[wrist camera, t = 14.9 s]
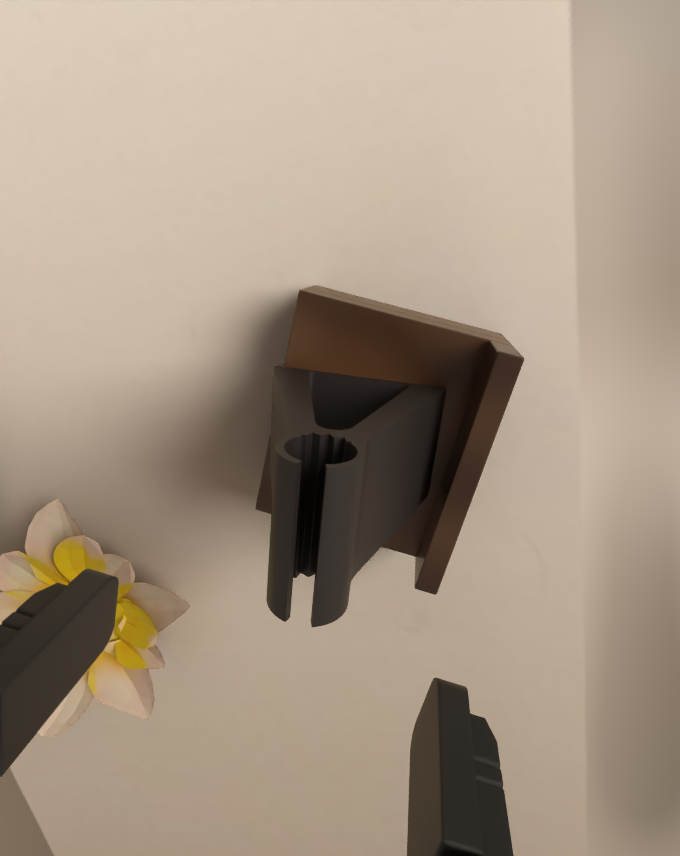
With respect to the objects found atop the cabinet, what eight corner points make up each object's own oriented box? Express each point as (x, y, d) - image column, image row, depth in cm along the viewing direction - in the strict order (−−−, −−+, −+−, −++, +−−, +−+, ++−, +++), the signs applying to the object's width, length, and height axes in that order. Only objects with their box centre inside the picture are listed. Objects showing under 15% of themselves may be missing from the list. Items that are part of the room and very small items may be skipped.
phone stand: (446, 388, 26) (463, 488, 15) (428, 492, 28) (430, 651, 17) (276, 364, 27) (171, 442, 16) (270, 467, 29) (173, 600, 18)
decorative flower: (241, 617, 36) (144, 753, 27) (175, 670, 42) (81, 794, 34) (81, 471, 35) (-67, 565, 27) (39, 547, 42) (-92, 642, 33)
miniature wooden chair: (315, 284, 29) (283, 294, 23) (502, 334, 29) (525, 358, 22) (273, 481, 34) (237, 535, 27) (434, 528, 33) (436, 595, 27)
